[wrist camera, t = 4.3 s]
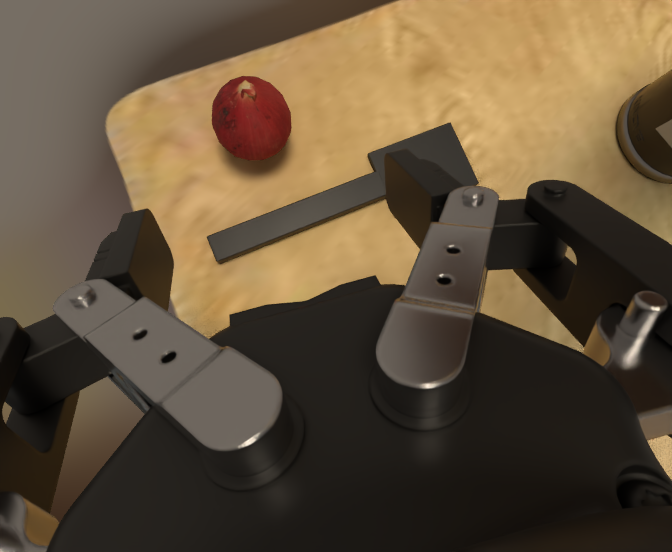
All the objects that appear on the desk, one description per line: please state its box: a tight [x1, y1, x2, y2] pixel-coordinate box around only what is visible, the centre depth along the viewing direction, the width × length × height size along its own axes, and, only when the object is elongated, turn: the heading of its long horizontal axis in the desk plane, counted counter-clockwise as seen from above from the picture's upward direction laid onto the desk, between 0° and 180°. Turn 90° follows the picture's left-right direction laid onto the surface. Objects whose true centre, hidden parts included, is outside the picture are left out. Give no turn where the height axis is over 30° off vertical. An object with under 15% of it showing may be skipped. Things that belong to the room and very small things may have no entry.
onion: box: [212, 76, 291, 160], centre depth 29 cm, size 6×6×8 cm
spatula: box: [207, 123, 479, 264], centre depth 32 cm, size 23×6×1 cm, turn 113°
